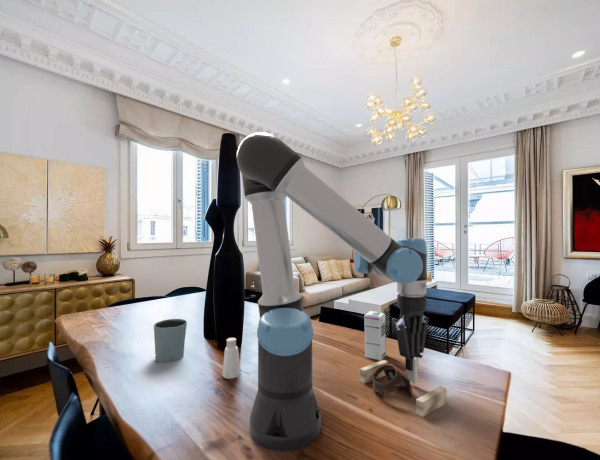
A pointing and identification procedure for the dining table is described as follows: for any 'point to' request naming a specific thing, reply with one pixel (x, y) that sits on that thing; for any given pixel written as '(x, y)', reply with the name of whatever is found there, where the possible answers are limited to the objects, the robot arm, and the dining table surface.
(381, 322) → the syrup box
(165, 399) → the dining table surface
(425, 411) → the rail cradle
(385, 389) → the pottery mug
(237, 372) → the pepper shaker
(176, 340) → the green planter pot
